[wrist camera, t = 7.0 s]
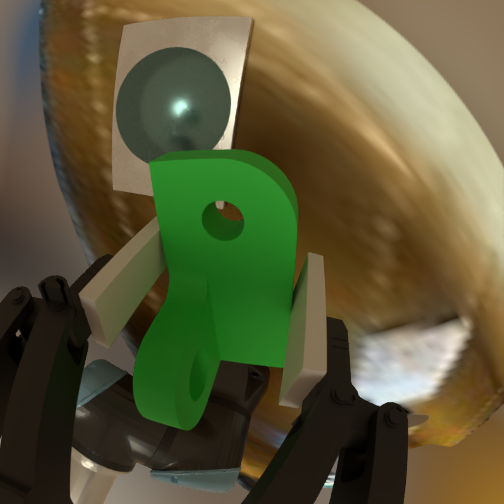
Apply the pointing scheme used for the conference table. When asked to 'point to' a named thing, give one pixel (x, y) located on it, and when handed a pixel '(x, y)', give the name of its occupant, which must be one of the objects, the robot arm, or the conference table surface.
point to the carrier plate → (176, 92)
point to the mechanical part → (216, 277)
